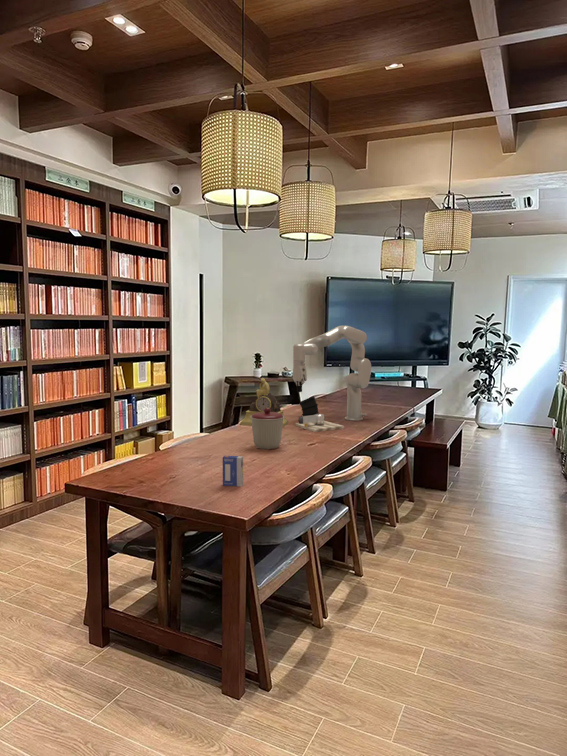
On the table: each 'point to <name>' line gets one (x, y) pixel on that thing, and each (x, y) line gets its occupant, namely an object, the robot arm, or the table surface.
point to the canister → (267, 429)
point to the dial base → (319, 426)
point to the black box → (309, 406)
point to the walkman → (233, 471)
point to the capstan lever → (312, 419)
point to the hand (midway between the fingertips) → (299, 391)
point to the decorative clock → (263, 404)
